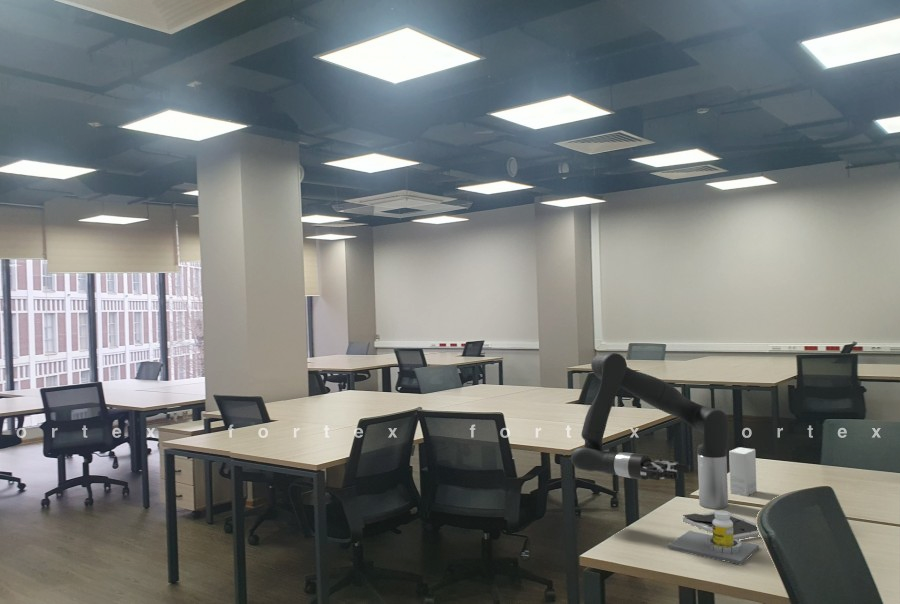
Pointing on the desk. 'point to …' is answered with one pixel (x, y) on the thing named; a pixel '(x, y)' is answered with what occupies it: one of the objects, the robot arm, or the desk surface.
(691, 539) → the grey flat rectangular slab
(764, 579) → the desk surface
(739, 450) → the skincare box
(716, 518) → the supplement bottle
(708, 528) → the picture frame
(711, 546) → the steel ring collar
